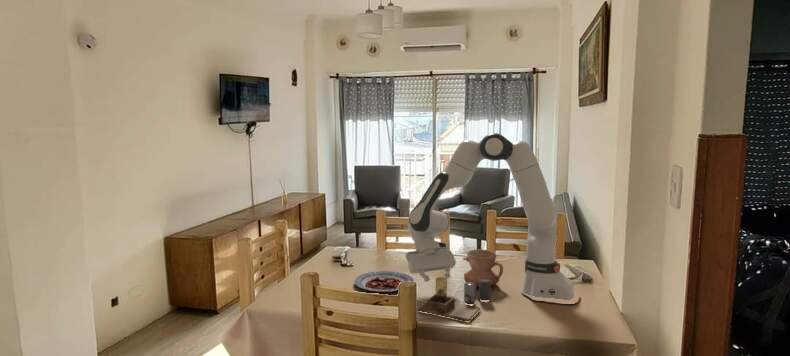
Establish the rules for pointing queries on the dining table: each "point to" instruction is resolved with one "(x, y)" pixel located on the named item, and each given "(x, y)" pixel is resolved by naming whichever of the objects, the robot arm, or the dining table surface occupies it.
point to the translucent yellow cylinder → (441, 286)
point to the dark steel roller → (469, 292)
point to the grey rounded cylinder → (485, 289)
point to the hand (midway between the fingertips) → (438, 279)
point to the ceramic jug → (482, 267)
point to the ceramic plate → (381, 280)
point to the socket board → (448, 308)
